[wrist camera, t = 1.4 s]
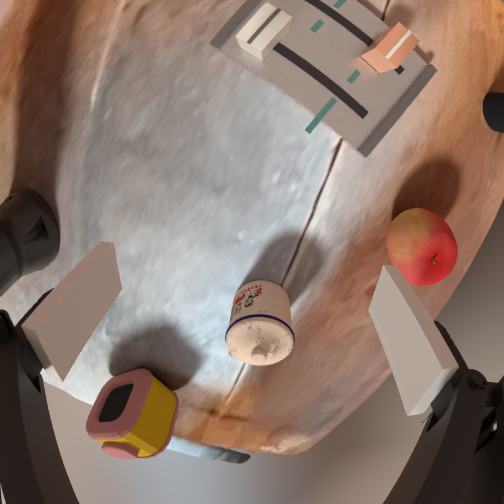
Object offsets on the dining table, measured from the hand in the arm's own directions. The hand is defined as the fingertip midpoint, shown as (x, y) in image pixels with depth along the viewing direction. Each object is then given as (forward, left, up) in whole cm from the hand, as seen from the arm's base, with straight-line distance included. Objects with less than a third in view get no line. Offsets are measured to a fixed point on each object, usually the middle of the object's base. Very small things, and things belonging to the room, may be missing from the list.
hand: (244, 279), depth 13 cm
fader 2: (+2, +22, -22) cm, 31 cm away
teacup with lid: (+12, -17, -24) cm, 32 cm away
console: (-3, +18, -24) cm, 30 cm away
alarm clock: (+6, -52, -24) cm, 58 cm away
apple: (+21, +7, -24) cm, 33 cm away
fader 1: (-9, +14, -22) cm, 27 cm away
